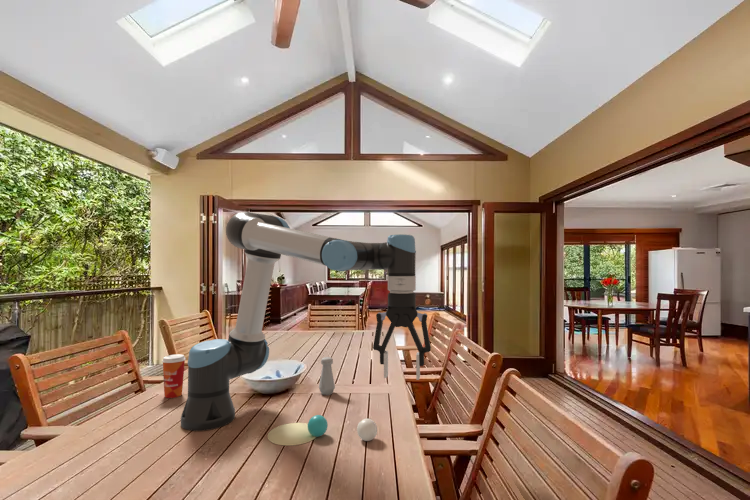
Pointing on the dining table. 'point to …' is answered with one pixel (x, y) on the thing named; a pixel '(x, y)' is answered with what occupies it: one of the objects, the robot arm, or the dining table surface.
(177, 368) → the paper cup
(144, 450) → the dining table surface
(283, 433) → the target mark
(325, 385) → the salt shaker
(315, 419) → the teal ball
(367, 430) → the cue ball
